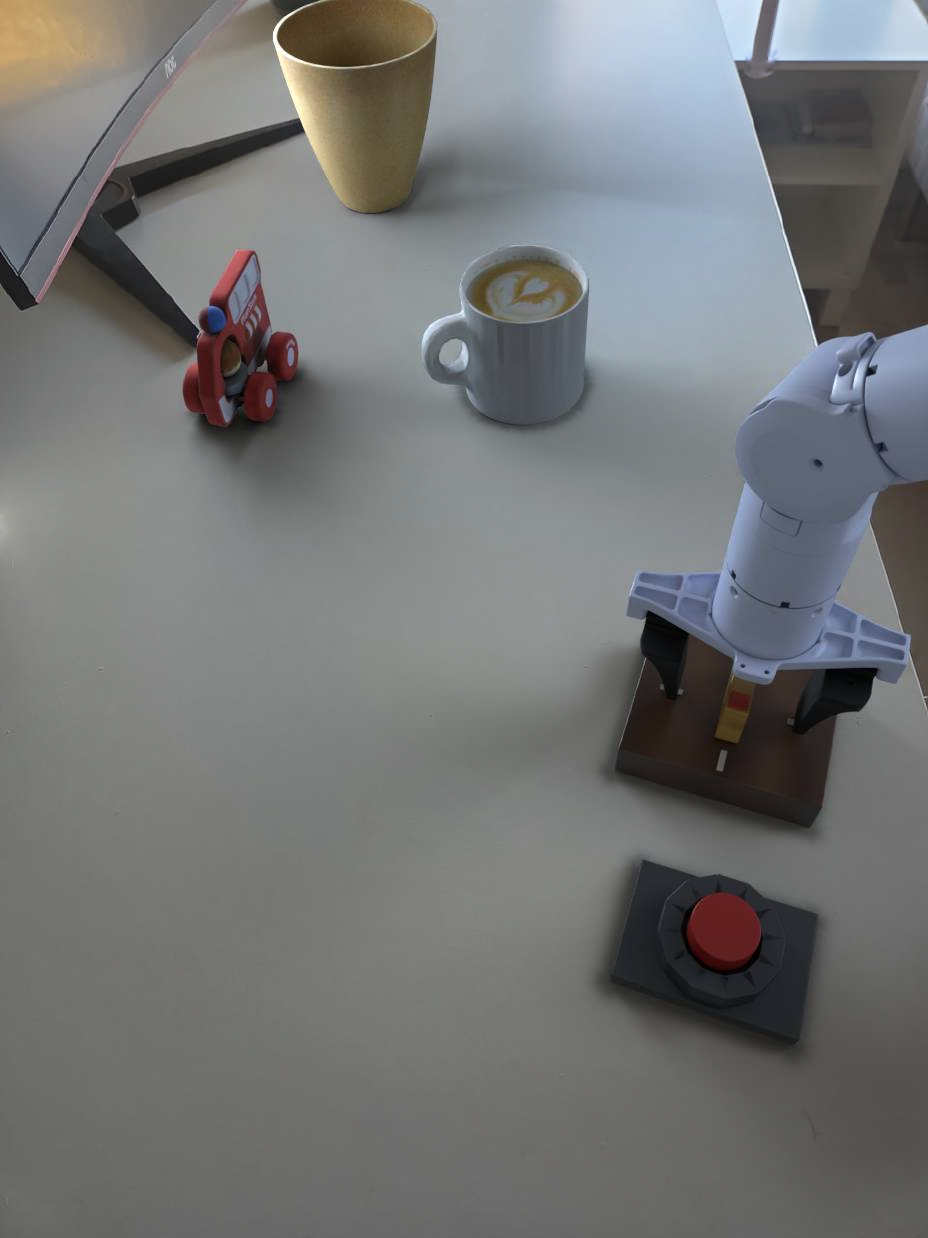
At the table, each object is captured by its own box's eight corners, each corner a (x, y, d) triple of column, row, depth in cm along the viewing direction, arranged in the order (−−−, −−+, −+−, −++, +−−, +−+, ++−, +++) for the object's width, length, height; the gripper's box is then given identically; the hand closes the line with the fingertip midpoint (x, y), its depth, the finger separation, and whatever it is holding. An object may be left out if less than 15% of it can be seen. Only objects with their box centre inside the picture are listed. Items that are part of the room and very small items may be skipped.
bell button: (760, 916, 52) (767, 905, 51) (748, 980, 50) (754, 971, 49) (694, 894, 53) (698, 883, 51) (679, 957, 51) (684, 948, 50)
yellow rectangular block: (730, 671, 61) (741, 637, 57) (753, 677, 60) (765, 644, 57) (714, 737, 58) (724, 706, 55) (737, 744, 58) (749, 713, 55)
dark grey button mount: (813, 921, 54) (827, 903, 52) (794, 1046, 51) (808, 1033, 48) (639, 866, 57) (645, 846, 54) (609, 982, 53) (613, 966, 50)
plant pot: (360, 253, 94) (334, 84, 81) (278, 192, 101) (242, 28, 88) (477, 194, 99) (470, 25, 86) (391, 140, 106) (373, -23, 93)
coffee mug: (572, 340, 85) (577, 237, 76) (593, 417, 79) (600, 315, 71) (421, 357, 84) (410, 256, 76) (431, 436, 79) (420, 335, 70)
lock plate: (832, 692, 63) (846, 666, 60) (810, 828, 57) (823, 806, 55) (651, 645, 66) (657, 618, 63) (614, 771, 60) (618, 747, 58)
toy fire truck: (181, 436, 80) (140, 333, 72) (236, 341, 87) (205, 237, 78) (259, 447, 79) (227, 344, 70) (309, 350, 86) (285, 246, 77)
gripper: (621, 588, 47) (603, 724, 58) (933, 665, 44) (850, 794, 55) (655, 487, 51) (631, 633, 62) (944, 551, 47) (865, 693, 59)
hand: (736, 702), depth 59 cm, fingers open, 7 cm apart
